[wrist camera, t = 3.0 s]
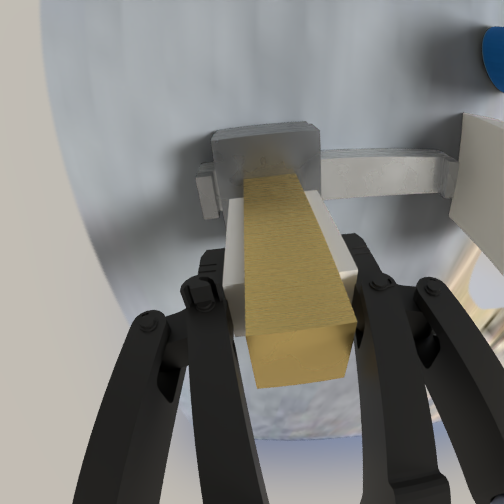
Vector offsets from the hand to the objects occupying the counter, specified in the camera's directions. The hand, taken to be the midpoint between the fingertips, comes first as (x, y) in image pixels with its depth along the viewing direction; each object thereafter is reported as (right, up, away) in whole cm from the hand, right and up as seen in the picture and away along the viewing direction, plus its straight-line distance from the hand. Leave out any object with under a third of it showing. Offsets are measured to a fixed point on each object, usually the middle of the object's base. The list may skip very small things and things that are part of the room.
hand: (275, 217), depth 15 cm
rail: (+5, +4, +5) cm, 8 cm away
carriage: (0, +4, +5) cm, 7 cm away
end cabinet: (+19, +6, +5) cm, 21 cm away
